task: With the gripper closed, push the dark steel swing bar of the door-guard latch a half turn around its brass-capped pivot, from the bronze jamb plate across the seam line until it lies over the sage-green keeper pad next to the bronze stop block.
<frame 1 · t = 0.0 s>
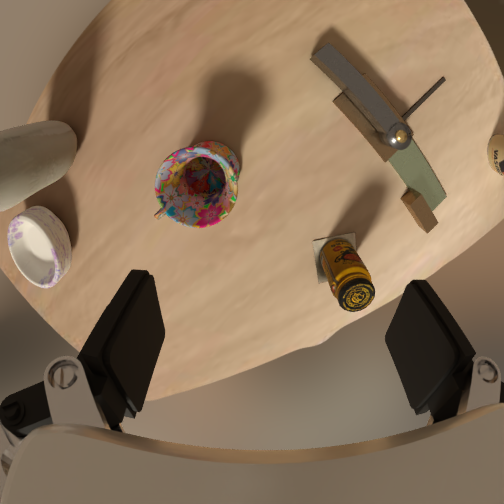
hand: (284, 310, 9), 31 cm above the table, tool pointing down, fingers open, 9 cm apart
keeper: (420, 185, 36), on the table
jamb plate: (387, 132, 34), on the table
paper bowls: (53, 234, 43), on the table
mug: (203, 174, 38), on the table
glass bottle: (66, 146, 35), on the table
swing bar: (365, 97, 29), point 3 cm above the table, hinge at 0.0°
condiment: (335, 257, 44), on the table
coffee cup: (497, 152, 32), on the table
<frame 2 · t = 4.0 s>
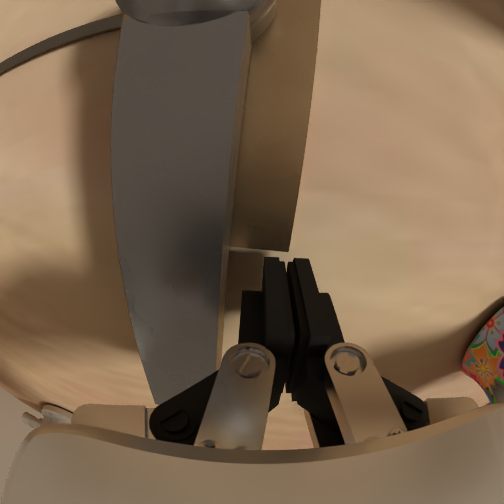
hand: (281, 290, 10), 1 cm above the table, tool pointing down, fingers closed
jamb plate: (217, 12, 6), on the table
mug: (499, 331, 15), on the table
swing bar: (179, 210, 7), point 3 cm above the table, hinge at 1.1°, touching gripper
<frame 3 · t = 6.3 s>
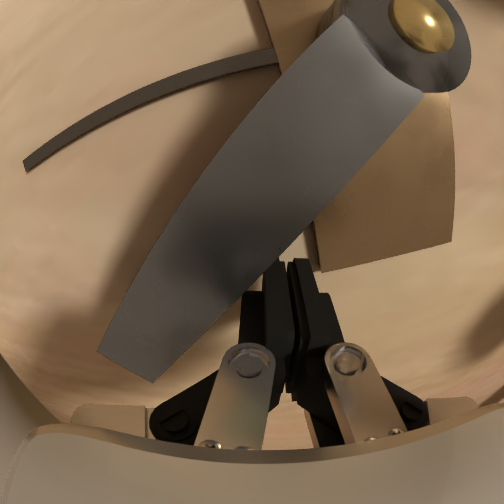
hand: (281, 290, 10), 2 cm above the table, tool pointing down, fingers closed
jamb plate: (364, 48, 7), on the table
swing bar: (252, 191, 8), point 3 cm above the table, hinge at 52.1°, touching gripper
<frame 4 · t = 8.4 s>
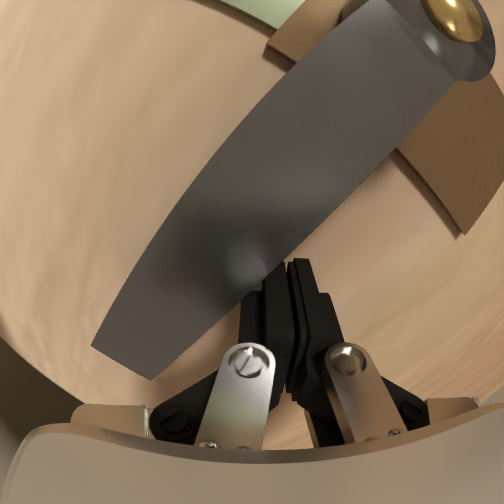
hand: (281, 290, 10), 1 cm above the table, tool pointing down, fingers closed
jamb plate: (385, 35, 6), on the table
swing bar: (272, 169, 7), point 3 cm above the table, hinge at 95.5°, touching gripper
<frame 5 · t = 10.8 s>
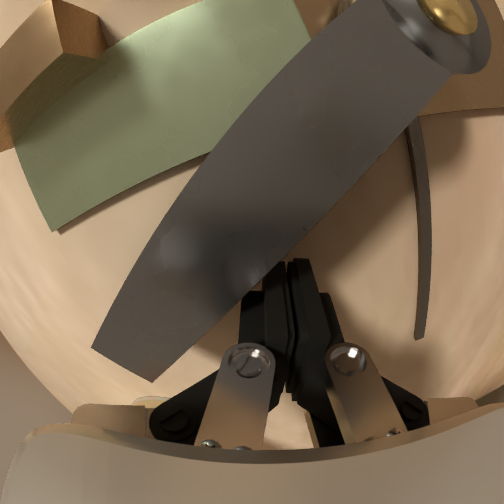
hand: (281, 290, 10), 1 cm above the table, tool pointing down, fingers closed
keeper: (104, 79, 6), on the table
jamb plate: (381, 32, 6), on the table
swing bar: (271, 166, 7), point 3 cm above the table, hinge at 148.7°, touching gripper
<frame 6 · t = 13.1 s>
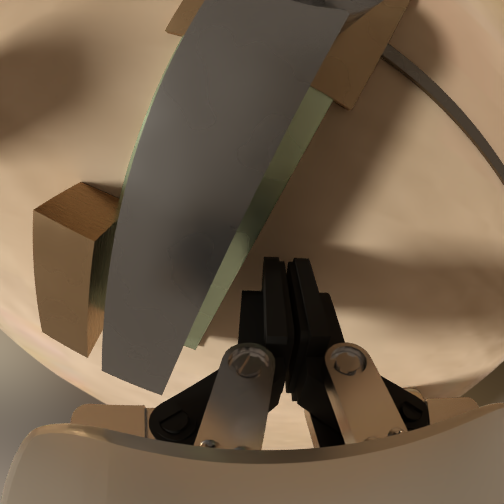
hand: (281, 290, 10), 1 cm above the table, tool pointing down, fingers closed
keeper: (144, 227, 9), on the table
jamb plate: (295, 1, 6), on the table
swing bar: (199, 174, 7), point 3 cm above the table, hinge at 179.0°
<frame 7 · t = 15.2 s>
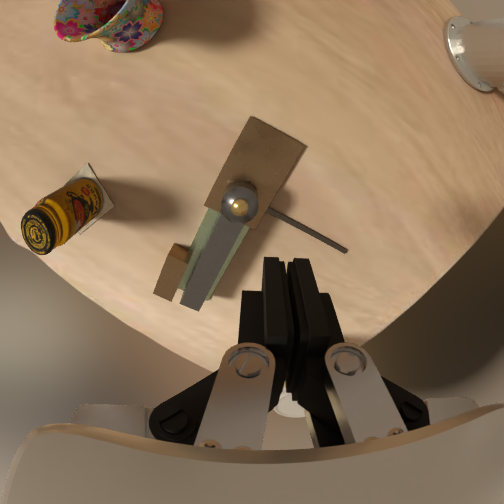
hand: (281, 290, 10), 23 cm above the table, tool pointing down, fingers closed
keeper: (198, 260, 35), on the table
jamb plate: (240, 195, 32), on the table
mug: (126, 21, 21), on the table
swing bar: (215, 250, 33), point 3 cm above the table, hinge at 179.0°
condiment: (83, 199, 32), on the table
coffee cup: (294, 345, 45), on the table
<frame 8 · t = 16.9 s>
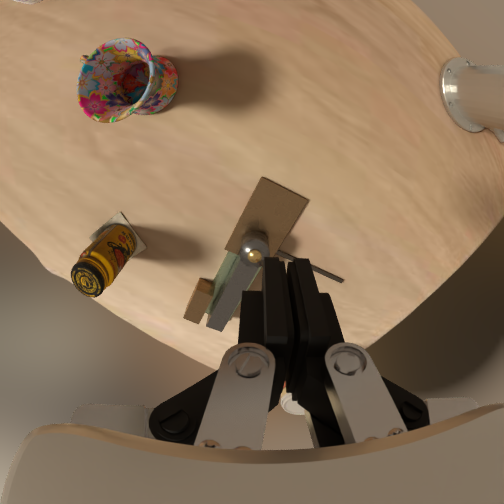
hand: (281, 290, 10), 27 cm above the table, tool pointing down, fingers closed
keeper: (221, 292, 42), on the table
jamb plate: (254, 241, 40), on the table
mug: (143, 81, 29), on the table
swing bar: (235, 286, 40), point 3 cm above the table, hinge at 179.0°
condiment: (117, 241, 40), on the table
coffee cup: (300, 354, 52), on the table
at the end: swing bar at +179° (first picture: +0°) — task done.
